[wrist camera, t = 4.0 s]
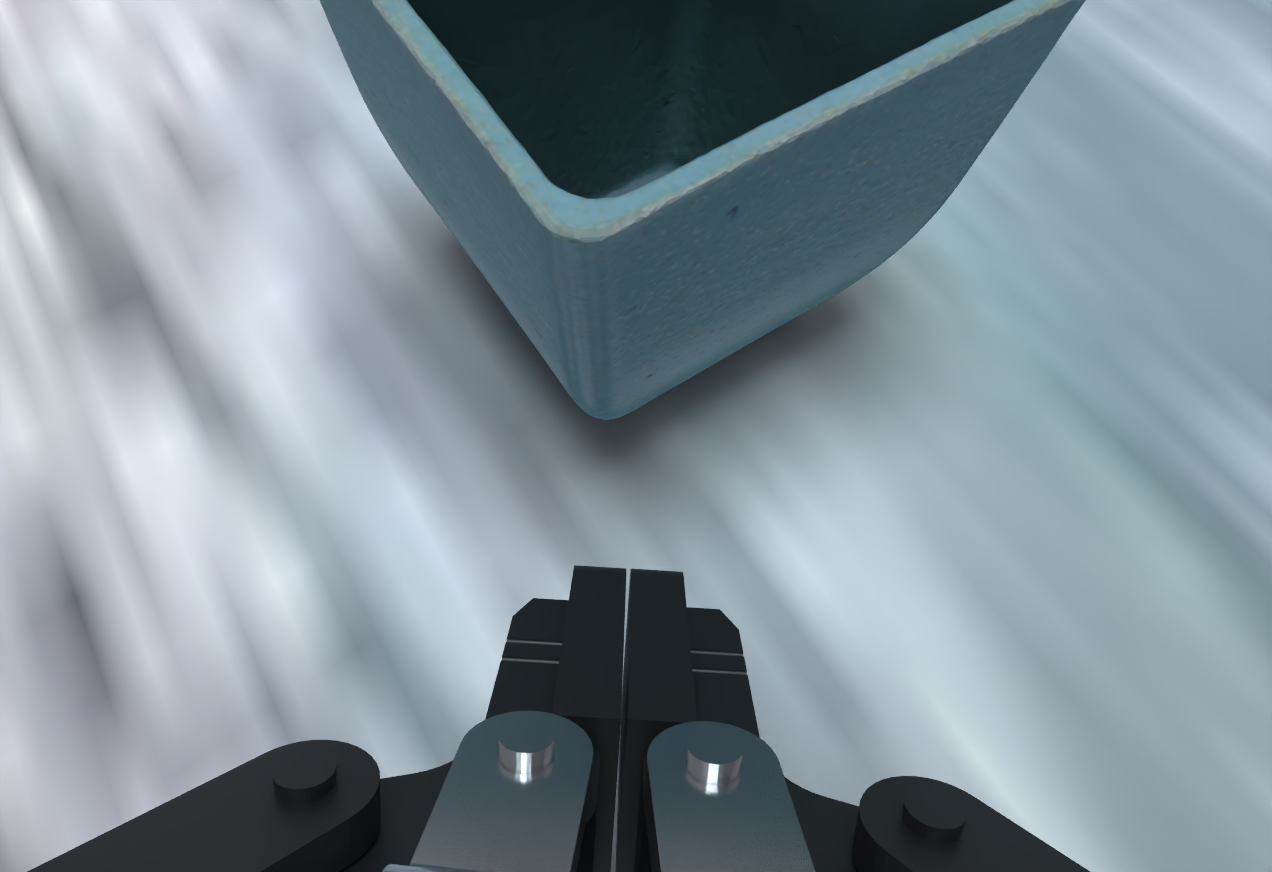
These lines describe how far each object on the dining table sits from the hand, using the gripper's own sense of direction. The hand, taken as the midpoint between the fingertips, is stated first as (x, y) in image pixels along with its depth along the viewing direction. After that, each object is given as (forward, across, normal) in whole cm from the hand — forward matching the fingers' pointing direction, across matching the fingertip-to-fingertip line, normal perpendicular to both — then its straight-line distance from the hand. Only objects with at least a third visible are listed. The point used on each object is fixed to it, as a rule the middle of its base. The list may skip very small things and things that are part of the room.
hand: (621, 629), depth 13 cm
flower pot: (+10, 0, -3) cm, 10 cm away
